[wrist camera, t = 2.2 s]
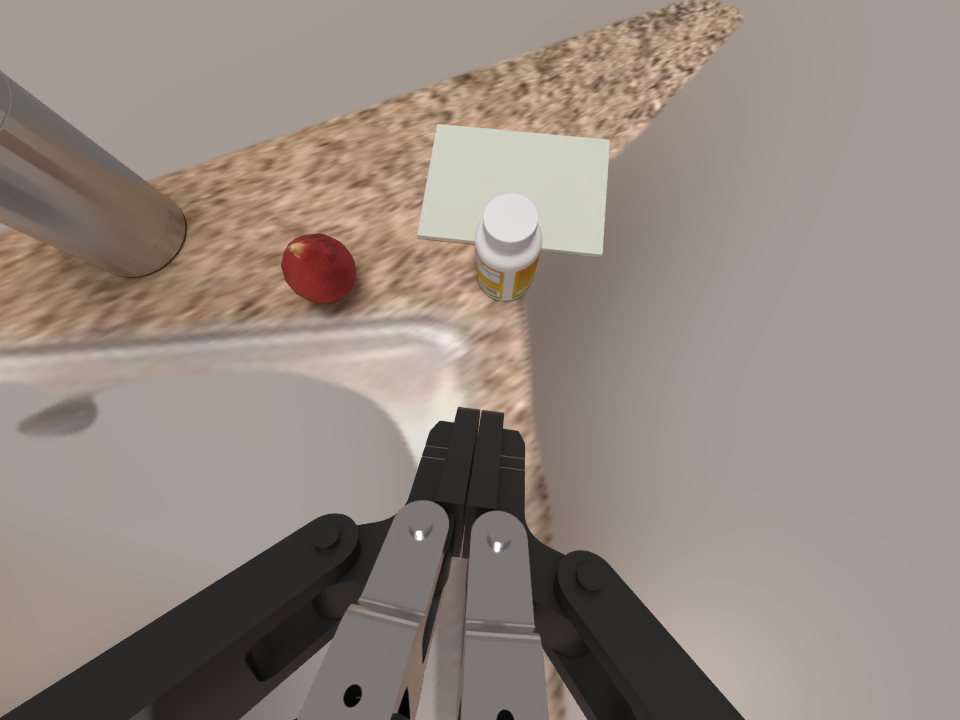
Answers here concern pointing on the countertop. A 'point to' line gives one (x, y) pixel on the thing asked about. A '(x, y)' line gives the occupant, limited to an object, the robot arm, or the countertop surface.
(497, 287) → the supplement bottle
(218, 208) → the countertop surface
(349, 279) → the onion
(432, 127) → the countertop surface
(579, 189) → the mat
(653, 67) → the countertop surface
